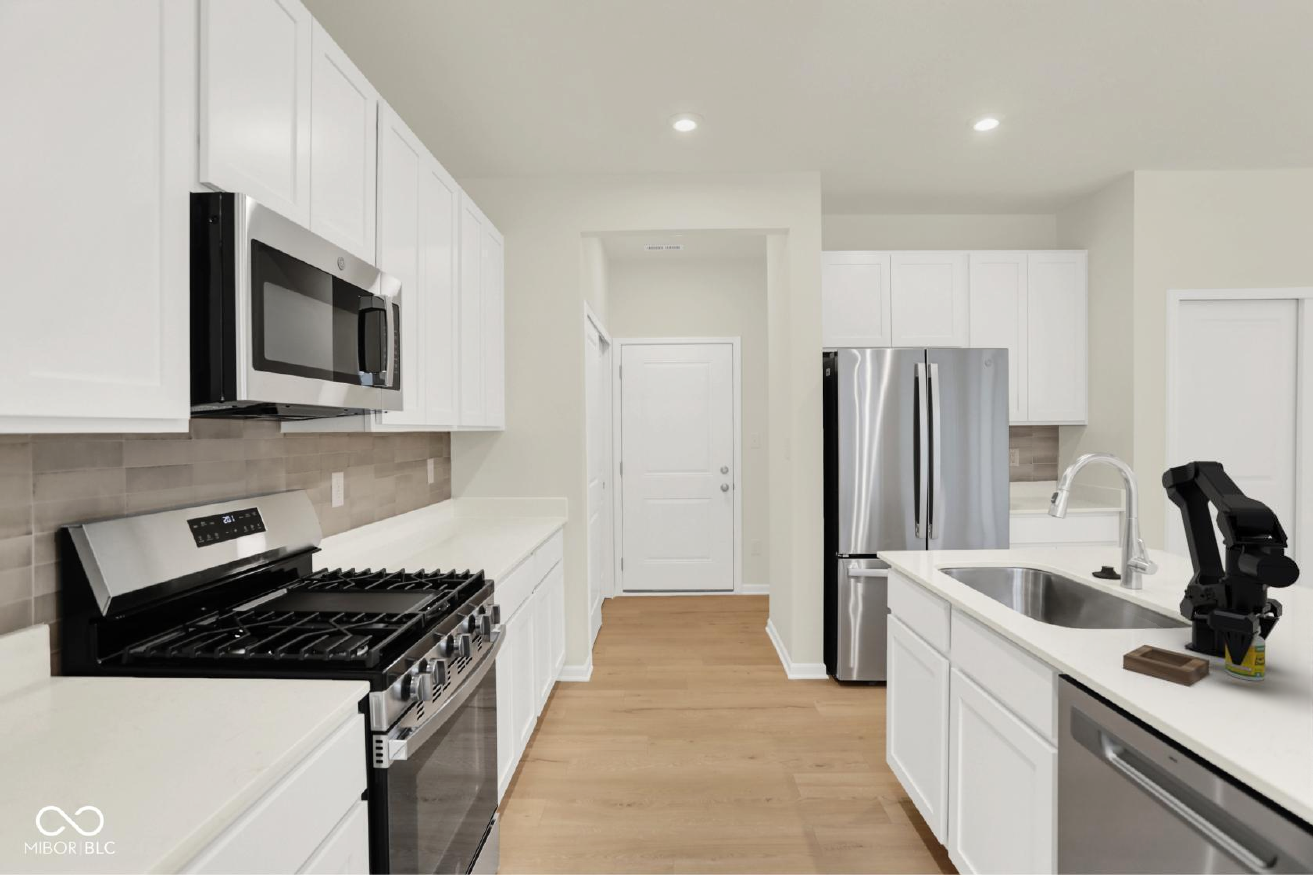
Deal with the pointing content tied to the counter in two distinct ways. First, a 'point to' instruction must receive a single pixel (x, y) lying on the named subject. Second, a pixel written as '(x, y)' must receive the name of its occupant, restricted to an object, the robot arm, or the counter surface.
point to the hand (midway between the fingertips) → (1244, 659)
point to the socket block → (1166, 664)
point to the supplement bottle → (1249, 662)
